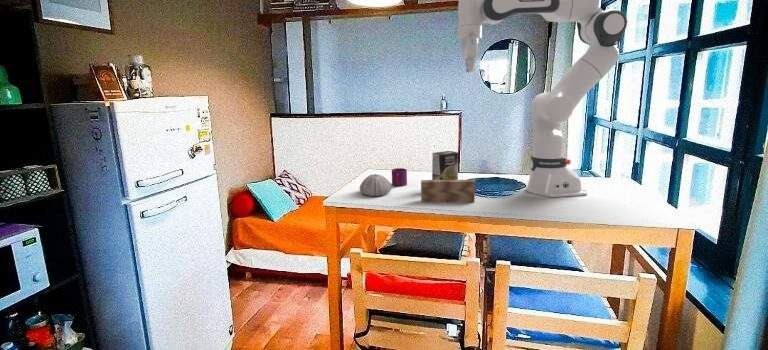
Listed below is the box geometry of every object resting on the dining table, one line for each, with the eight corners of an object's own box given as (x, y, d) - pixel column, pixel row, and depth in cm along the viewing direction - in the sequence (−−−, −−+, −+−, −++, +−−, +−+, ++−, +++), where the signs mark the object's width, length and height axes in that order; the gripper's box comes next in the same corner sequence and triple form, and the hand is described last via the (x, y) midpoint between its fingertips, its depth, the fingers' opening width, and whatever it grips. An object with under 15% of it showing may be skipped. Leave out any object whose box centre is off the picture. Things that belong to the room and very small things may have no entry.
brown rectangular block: (472, 198, 155) (473, 178, 153) (474, 202, 150) (474, 181, 148) (421, 198, 157) (421, 178, 155) (421, 202, 152) (421, 182, 150)
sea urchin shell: (373, 200, 157) (373, 180, 155) (352, 193, 167) (352, 175, 165) (398, 193, 166) (397, 174, 164) (376, 187, 176) (376, 169, 174)
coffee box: (440, 193, 163) (440, 154, 159) (431, 190, 168) (431, 152, 165) (458, 190, 167) (458, 152, 163) (449, 186, 172) (449, 150, 169)
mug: (408, 183, 181) (408, 168, 179) (402, 188, 172) (402, 173, 170) (394, 182, 183) (394, 167, 181) (387, 188, 174) (387, 172, 172)
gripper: (482, 30, 140) (481, 70, 143) (475, 36, 160) (474, 72, 163) (463, 31, 141) (463, 71, 144) (459, 37, 161) (459, 73, 164)
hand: (469, 72), depth 154 cm, fingers open, 8 cm apart
